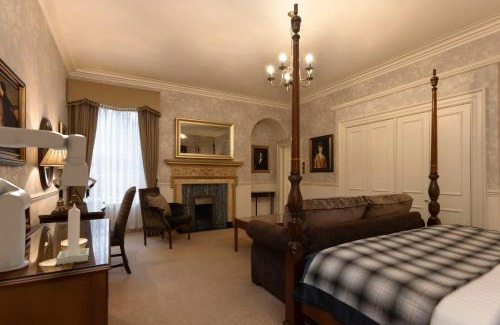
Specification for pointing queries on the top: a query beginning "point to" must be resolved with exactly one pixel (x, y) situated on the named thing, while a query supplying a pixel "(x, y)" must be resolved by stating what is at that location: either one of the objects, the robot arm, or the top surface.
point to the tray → (72, 257)
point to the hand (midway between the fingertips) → (74, 198)
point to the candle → (73, 231)
